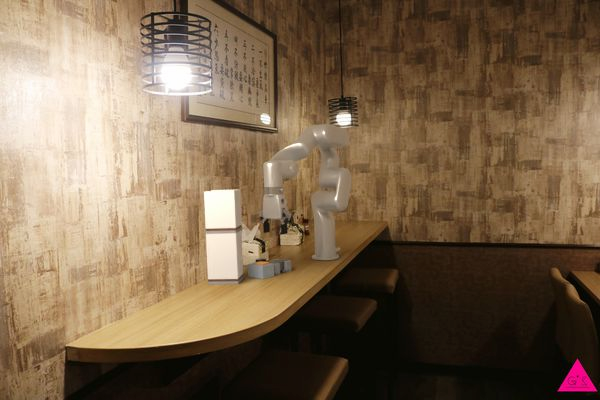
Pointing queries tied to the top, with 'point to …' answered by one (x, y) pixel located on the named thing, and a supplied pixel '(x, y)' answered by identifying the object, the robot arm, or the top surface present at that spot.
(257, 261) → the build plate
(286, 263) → the clip
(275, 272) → the clip
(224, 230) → the white banded pillar
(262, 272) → the end holder
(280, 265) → the orange and grey bar
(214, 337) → the top surface
